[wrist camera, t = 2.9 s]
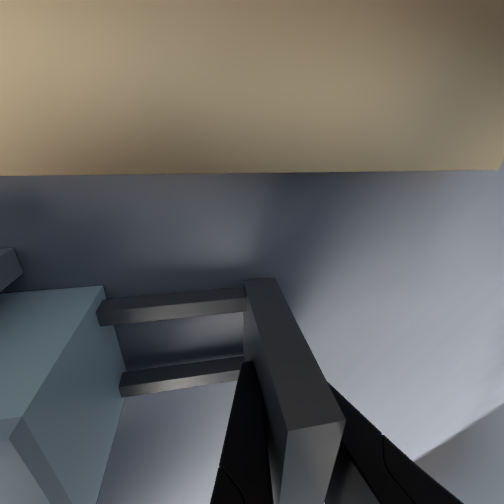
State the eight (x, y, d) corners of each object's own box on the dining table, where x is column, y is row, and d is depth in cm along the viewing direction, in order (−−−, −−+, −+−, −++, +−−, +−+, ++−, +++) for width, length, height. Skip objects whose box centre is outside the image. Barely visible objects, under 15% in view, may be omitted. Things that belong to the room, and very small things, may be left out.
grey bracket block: (272, 271, 10) (346, 416, 5) (267, 363, 12) (316, 530, 7) (-184, 308, 8) (-935, 659, 3) (-93, 414, 10) (-407, 721, 5)
